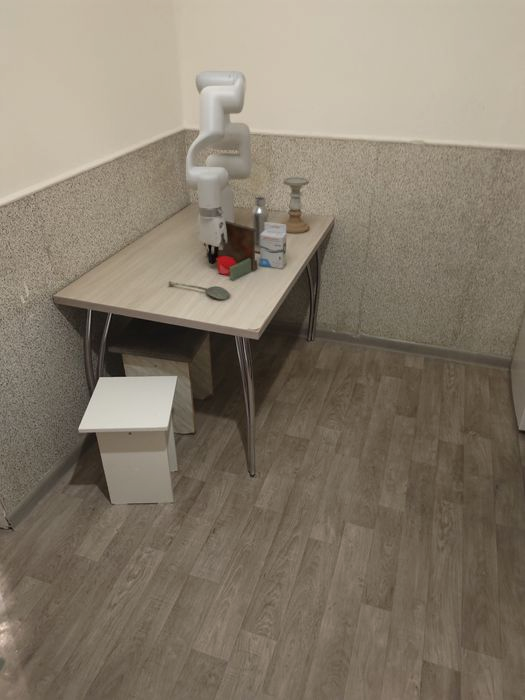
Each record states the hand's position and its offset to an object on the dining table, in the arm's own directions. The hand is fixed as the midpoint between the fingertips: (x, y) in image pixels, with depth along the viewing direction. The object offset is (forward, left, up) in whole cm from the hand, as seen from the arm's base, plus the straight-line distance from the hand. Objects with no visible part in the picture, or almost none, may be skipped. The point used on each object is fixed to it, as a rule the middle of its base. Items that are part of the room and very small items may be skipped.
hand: (213, 262), depth 180 cm
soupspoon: (+9, -17, -2) cm, 20 cm away
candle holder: (-1, +52, -2) cm, 52 cm away
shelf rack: (+2, +3, -2) cm, 4 cm away
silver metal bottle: (+3, +23, -2) cm, 24 cm away
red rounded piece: (+6, 0, -2) cm, 7 cm away
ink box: (+15, +15, -2) cm, 21 cm away
